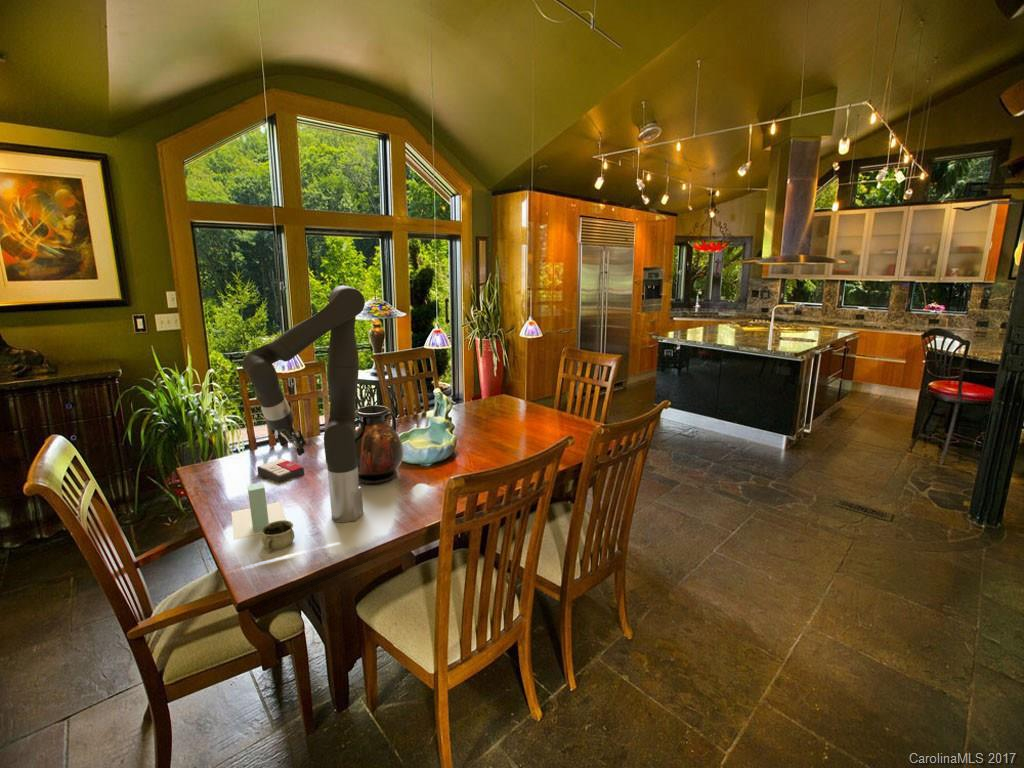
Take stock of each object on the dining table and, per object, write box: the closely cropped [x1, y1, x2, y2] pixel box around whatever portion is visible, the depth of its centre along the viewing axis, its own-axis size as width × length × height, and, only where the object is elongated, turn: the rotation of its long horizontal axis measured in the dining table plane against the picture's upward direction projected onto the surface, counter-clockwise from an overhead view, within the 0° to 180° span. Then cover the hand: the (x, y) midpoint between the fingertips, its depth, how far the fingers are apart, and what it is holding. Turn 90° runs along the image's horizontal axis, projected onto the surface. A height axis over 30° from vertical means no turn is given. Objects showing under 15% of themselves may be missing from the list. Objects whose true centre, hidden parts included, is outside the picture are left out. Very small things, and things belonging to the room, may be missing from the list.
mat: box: [230, 501, 287, 541], centre depth 161 cm, size 20×15×1 cm
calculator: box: [256, 458, 305, 484], centre depth 197 cm, size 11×4×15 cm
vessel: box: [260, 519, 296, 554], centre depth 146 cm, size 12×9×6 cm
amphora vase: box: [354, 405, 405, 486], centre depth 192 cm, size 22×22×28 cm
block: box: [247, 482, 269, 533], centre depth 154 cm, size 4×4×14 cm
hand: (292, 449), depth 161 cm, fingers open, 8 cm apart
